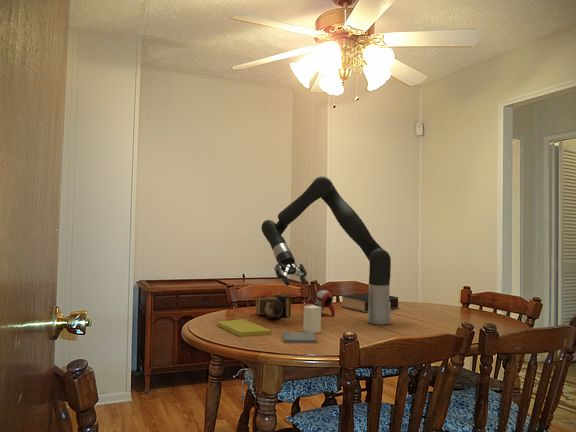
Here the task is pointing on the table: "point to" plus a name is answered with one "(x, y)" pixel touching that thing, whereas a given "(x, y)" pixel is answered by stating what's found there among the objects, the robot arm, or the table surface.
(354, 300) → the book
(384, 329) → the table surface
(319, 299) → the toy
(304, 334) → the slate pad
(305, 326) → the cream block
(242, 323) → the flat olive board
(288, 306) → the bookend
